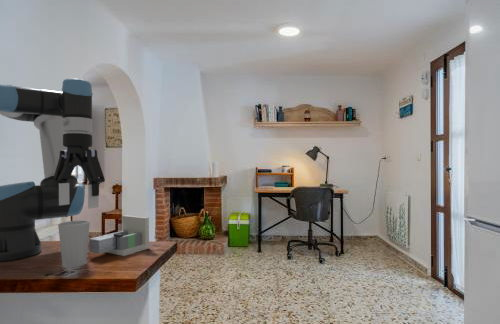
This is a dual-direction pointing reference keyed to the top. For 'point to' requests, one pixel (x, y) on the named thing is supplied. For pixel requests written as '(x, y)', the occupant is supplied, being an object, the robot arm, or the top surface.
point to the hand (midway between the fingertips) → (78, 206)
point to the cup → (74, 242)
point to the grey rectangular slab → (103, 243)
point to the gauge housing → (132, 235)
